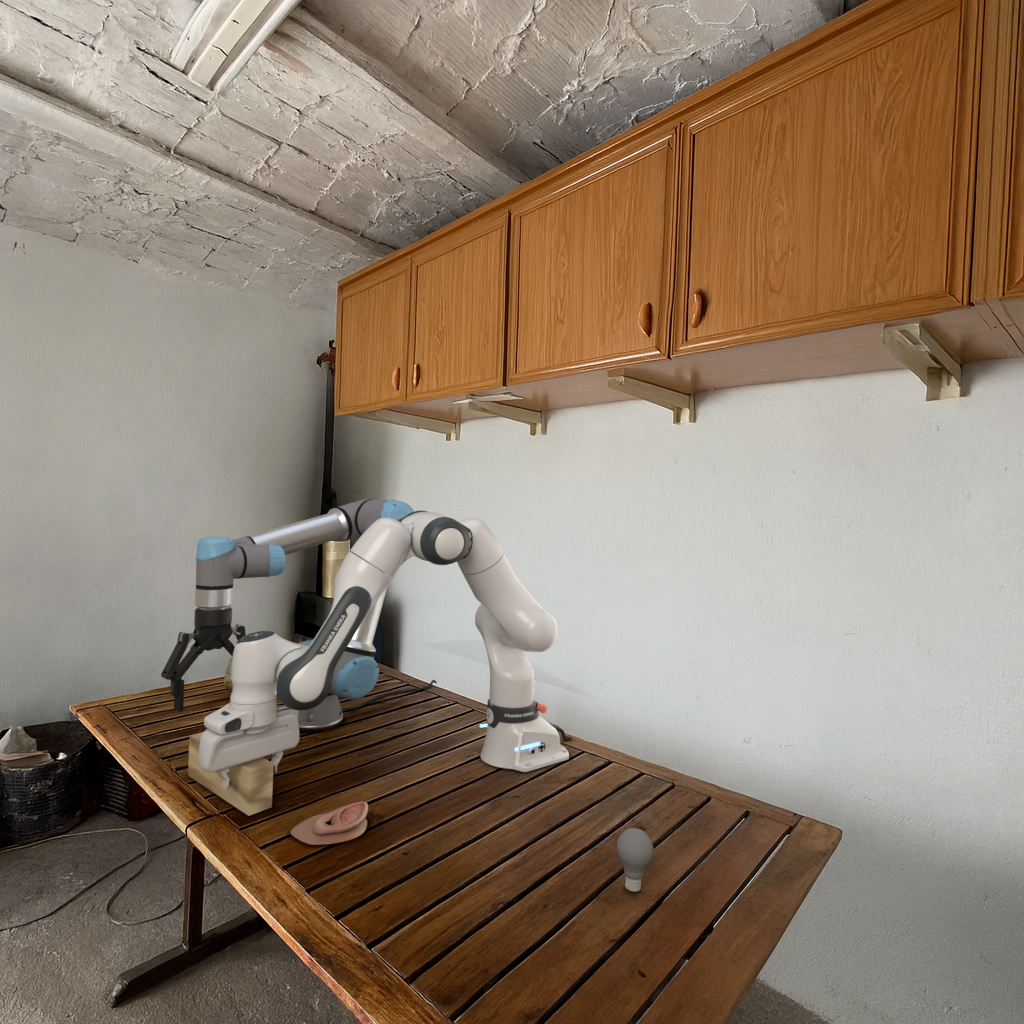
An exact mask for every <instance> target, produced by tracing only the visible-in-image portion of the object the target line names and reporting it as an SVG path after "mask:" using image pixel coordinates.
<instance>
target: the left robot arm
mask: <svg viewBox="0 0 1024 1024" xmlns="http://www.w3.org/2000/svg"><path fill="white" fill-rule="evenodd" d="M414 511H415V510H414V508H413V507H412V506H411V505H410V504H408V503H407V502H405V501H401V500H396V499H375V498H366V499H360V500H357V501H354V502H353V501H352V502H350V503H346V504H343V505H340V506H337V507H333V508H330V509H329V510H328V512H327V513H325V514H321V515H318V516H314V517H311V518H307V519H304V520H299V521H297V522H296V521H295V522H293V523H289V524H286V525H282V526H277V527H275V528H271V529H267V530H264V531H260V532H256V533H253V534H250V535H247V536H241V537H238V538H233V537H230V536H203V537H201V538H199V539H198V541H197V545H196V556H195V560H196V561H195V562H196V563H195V590H194V591H195V592H194V593H195V594H194V606H195V607H196V608H195V609H194V619H193V620H194V622H193V625H194V629H193V630H192V631H193V632H185V631H180V632H179V633H178V635H177V642H176V644H175V646H174V648H173V650H172V652H171V653H170V655H169V658H168V660H167V662H166V664H165V665H164V667H163V669H162V671H161V674H160V677H161V678H163V679H164V680H167V681H170V687H169V689H170V690H169V693H170V695H171V696H173V709H174V710H175V711H176V712H184V705H185V704H184V703H185V702H184V700H185V679H182V678H183V676H184V675H185V673H187V671H188V670H189V669H190V668H191V666H192V665H193V664H194V662H195V661H196V660H197V659H198V657H199V656H200V655H202V654H203V653H204V651H206V652H209V651H213V650H222V648H223V649H224V650H226V651H227V653H228V654H229V655H230V656H231V658H232V657H233V652H234V648H235V645H234V643H233V642H232V641H231V640H230V638H231V636H232V635H234V636H235V638H236V640H237V642H238V641H239V639H241V638H242V637H243V636H245V635H247V633H246V627H245V626H244V625H241V624H239V623H238V624H235V625H234V626H232V623H233V608H232V607H231V606H232V605H233V604H234V603H233V601H234V599H233V597H234V581H235V580H238V579H240V580H241V579H250V578H252V579H254V578H269V577H276V576H277V577H278V576H280V575H281V574H283V572H284V571H285V568H286V565H287V555H290V554H294V553H296V552H300V551H303V550H306V549H310V548H313V547H317V546H319V545H322V544H325V543H329V542H332V541H338V542H344V541H348V540H353V539H355V540H356V539H357V540H358V539H359V538H360V537H361V536H362V535H363V533H364V532H365V531H366V530H367V529H368V528H369V527H370V526H371V525H372V524H373V523H374V522H375V521H376V520H378V519H380V518H392V519H395V520H399V519H401V518H403V517H404V516H406V515H407V514H409V513H411V512H414ZM363 560H364V559H363ZM364 561H365V560H364ZM366 562H367V561H366ZM367 563H368V562H367ZM369 564H370V563H369ZM370 565H371V564H370ZM372 566H373V565H372ZM375 568H376V567H375ZM377 569H378V568H377ZM378 570H379V569H378ZM380 571H381V570H380ZM381 572H382V571H381ZM383 573H384V572H383ZM384 574H386V573H384ZM386 575H387V574H386ZM388 576H389V575H388ZM389 577H390V576H389ZM387 589H388V587H387V588H386V589H385V591H384V592H383V593H382V595H381V596H380V597H379V599H378V600H377V601H376V603H375V604H374V605H373V607H372V608H371V609H370V611H369V612H368V614H367V615H366V616H365V618H364V619H363V621H362V622H361V624H360V626H359V628H358V629H357V631H356V633H355V634H354V636H353V638H352V639H351V641H350V643H349V644H348V646H347V648H346V649H345V651H344V653H343V654H342V656H341V658H340V659H339V661H338V663H337V665H336V667H335V670H334V673H333V678H332V684H331V688H330V691H329V694H328V695H327V697H326V698H325V700H324V701H323V702H322V703H321V704H319V705H318V706H316V707H314V708H312V709H309V710H302V711H299V713H298V724H299V732H301V733H316V732H325V731H329V730H332V729H335V728H337V727H339V726H340V725H342V723H343V722H344V713H343V711H351V710H355V709H359V708H361V707H364V706H365V705H367V704H369V703H371V702H373V701H376V700H377V699H380V698H382V697H386V696H390V695H394V694H402V693H408V692H414V691H422V690H426V689H429V688H431V687H432V685H433V684H437V683H438V682H437V681H436V680H435V679H432V680H431V681H430V682H429V684H428V685H426V686H421V687H414V688H407V689H401V690H393V691H389V692H385V693H381V694H379V695H377V696H374V697H372V698H370V699H367V700H366V701H364V702H362V703H360V704H358V705H354V706H346V707H342V706H341V702H340V699H345V700H347V701H357V700H360V699H363V698H364V697H365V696H367V695H368V694H370V693H371V692H372V690H373V689H374V688H375V687H376V684H377V682H378V680H379V676H380V668H379V666H378V663H377V661H376V660H375V658H376V657H375V656H376V653H377V650H376V648H375V646H374V644H373V642H374V639H375V636H376V635H375V634H376V631H377V627H378V624H379V619H380V615H381V612H382V609H383V605H384V600H385V597H386V593H387ZM192 640H193V641H194V643H193V644H192V645H191V646H190V648H189V651H188V652H187V653H186V654H185V652H186V651H187V648H188V646H189V644H190V643H191V642H192ZM313 640H314V639H308V640H304V641H300V642H299V643H298V644H301V645H307V646H310V645H311V643H312V641H313ZM184 654H185V656H184Z"/></svg>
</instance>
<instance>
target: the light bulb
mask: <svg viewBox="0 0 1024 1024" xmlns="http://www.w3.org/2000/svg"><path fill="white" fill-rule="evenodd" d="M616 852H617V856H618V858H619V860H620V862H621V864H622V866H623V872H624V875H625V882H624V887H625V889H627V890H628V891H630V892H633V893H634V892H635V893H636V892H639V891H641V889H642V878H643V876H644V875H645V869H646V868H647V867H648V865H649V864H650V862H651V860H652V858H653V855H654V845H653V842H652V840H651V838H650V836H649V835H648V834H647V832H645V831H644V830H642V829H640V828H636V827H629V828H627V829H625V830H624V831H623V832H622V833H620V835H619V836H618V839H617V841H616Z"/></svg>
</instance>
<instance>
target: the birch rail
mask: <svg viewBox="0 0 1024 1024" xmlns="http://www.w3.org/2000/svg"><path fill="white" fill-rule="evenodd" d="M203 733H204V731H201V732H198V733H195V734H190V735H189V737H188V741H189V742H188V768H187V769H188V770H187V776H188V777H189V778H190V779H192V780H194V781H195V782H197V783H199V784H200V785H202V786H203V787H204V788H206V789H207V790H209V791H211V792H212V793H213V794H215V795H216V796H218V797H219V798H221V799H222V800H224V801H225V802H226V803H229V804H230V805H232V806H233V807H235V808H236V809H237V810H239V811H240V812H242V813H244V814H245V815H247V816H248V817H249V816H252V815H255V814H258V813H260V812H262V811H266V810H268V809H270V808H272V807H273V789H274V786H273V785H274V773H273V763H272V762H271V760H268V759H266V758H265V757H260V758H257V759H254V760H251V761H247V762H244V763H241V764H237V765H234V766H231V767H229V772H227V773H226V774H227V776H230V777H231V778H234V782H233V784H234V786H233V787H231V788H228V789H224V788H223V787H222V778H221V777H220V775H219V774H218V772H217V771H215V772H211V773H208V772H206V771H204V770H203V769H201V768H200V766H199V765H198V753H199V745H200V740H201V736H202V734H203Z"/></svg>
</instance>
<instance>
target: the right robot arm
mask: <svg viewBox="0 0 1024 1024" xmlns="http://www.w3.org/2000/svg"><path fill="white" fill-rule="evenodd" d="M413 557H414V558H415V557H416V558H418V559H419V560H422V561H424V562H429V563H430V564H433V565H437V566H447V565H451V564H455V563H457V566H458V567H459V569H460V571H461V573H462V574H463V577H464V579H465V581H466V582H467V585H468V587H469V588H470V590H471V592H472V595H473V596H474V597H475V599H476V600H477V601H478V602H479V603H480V604H479V606H478V607H477V609H476V611H475V615H474V624H475V627H476V629H477V631H478V632H479V633H480V636H481V637H482V638H481V639H482V640H483V643H484V646H485V650H486V651H485V652H486V655H487V659H488V665H489V698H488V699H487V705H486V723H482V724H479V728H486V732H485V737H484V741H483V746H482V749H481V752H480V755H479V757H480V759H481V761H483V762H484V763H486V764H487V765H490V766H492V767H496V768H500V769H507V770H514V771H518V772H522V773H527V772H531V771H535V770H538V769H541V768H544V767H548V766H551V765H555V764H558V763H561V762H564V761H568V760H569V759H570V753H569V751H568V750H567V748H566V747H565V746H563V744H561V738H560V735H561V736H562V739H563V740H564V741H569V740H571V739H572V736H571V735H568V736H570V737H568V736H566V734H565V731H564V729H563V728H562V727H560V726H559V725H556V724H554V723H552V722H549V721H548V720H546V719H544V718H543V716H541V715H540V713H541V714H545V713H546V712H548V706H547V705H545V704H544V703H540V702H538V701H536V700H534V696H535V695H534V693H535V675H536V674H535V670H534V667H533V666H532V664H531V663H530V661H529V659H528V656H527V654H526V653H542V652H546V651H547V650H549V649H550V648H551V647H552V646H553V644H554V643H555V641H556V640H557V636H558V623H557V620H556V618H555V617H554V616H553V615H552V614H551V613H549V612H548V611H547V610H545V609H544V607H542V606H541V605H540V604H539V602H537V600H536V599H535V598H534V597H533V596H532V594H530V592H529V591H528V590H527V588H526V587H525V586H524V585H523V584H522V582H521V581H520V580H519V578H518V576H517V575H516V574H515V571H514V570H513V567H512V566H511V564H510V562H509V560H508V558H507V556H506V555H505V551H504V550H503V548H502V546H501V544H500V542H499V541H498V539H497V538H496V536H495V534H494V533H493V531H492V530H491V529H490V527H489V526H488V525H487V524H486V522H484V521H483V520H482V519H480V518H477V517H467V518H464V519H462V520H460V521H459V520H456V519H454V518H453V517H449V516H446V515H444V514H442V513H438V512H433V511H432V512H431V511H427V510H414V512H411V513H409V514H407V515H406V516H404V517H403V518H401V519H399V520H395V519H392V518H380V519H378V520H376V521H375V522H374V523H373V524H372V525H371V526H370V527H369V528H368V529H367V530H366V531H365V532H364V533H363V535H362V536H361V537H360V538H359V539H357V540H356V541H355V542H354V545H353V546H352V547H351V549H350V551H348V552H347V554H346V556H345V557H344V559H343V560H342V562H341V564H340V566H339V568H338V571H337V573H336V575H335V577H334V591H333V592H334V593H333V594H334V595H333V602H332V606H331V609H330V611H329V614H328V616H327V617H326V619H325V620H324V622H323V624H322V626H321V627H320V629H319V630H318V632H317V633H316V635H315V637H314V638H313V639H312V640H313V641H312V643H311V645H310V646H307V645H301V644H299V643H296V642H293V641H290V640H287V639H285V638H283V637H282V636H280V635H278V634H277V633H276V632H274V631H271V630H259V631H255V632H252V633H251V632H250V633H247V634H246V635H245V636H243V637H242V638H241V639H239V641H238V640H237V641H236V643H235V645H234V647H235V648H234V652H233V658H232V657H231V658H232V668H231V681H232V684H233V690H232V694H231V693H230V697H229V703H226V704H225V705H224V706H222V707H221V708H219V709H217V710H215V711H213V712H211V713H210V714H207V715H206V716H204V719H203V726H204V727H205V728H206V729H205V730H204V731H203V732H204V733H203V734H202V736H201V740H200V745H199V753H198V765H199V766H200V768H201V769H203V770H204V771H206V772H208V773H211V772H215V771H217V772H218V774H219V775H220V777H221V778H222V787H223V788H224V789H228V788H231V787H233V786H234V784H233V782H234V778H231V777H230V776H227V774H226V773H227V772H229V767H231V766H234V765H237V764H241V763H244V762H247V761H251V760H254V759H257V758H260V757H263V758H265V757H266V756H270V755H272V757H271V759H270V762H272V763H273V774H276V773H278V765H279V763H280V762H281V760H282V758H283V756H284V751H286V750H289V749H293V748H296V747H297V745H298V744H299V742H300V731H299V724H298V713H299V711H302V710H309V709H312V708H314V707H316V706H318V705H319V704H321V703H322V702H323V701H324V700H325V698H326V697H327V695H328V694H329V691H330V688H331V684H332V678H333V673H334V670H335V667H336V665H337V663H338V661H339V659H340V658H341V656H342V654H343V653H344V651H345V649H346V648H347V646H348V644H349V643H350V641H351V639H352V638H353V636H354V634H355V633H356V631H357V629H358V628H359V626H360V624H361V622H362V621H363V619H364V618H365V616H366V615H367V614H368V612H369V611H370V609H371V608H372V607H373V605H374V604H375V603H376V601H377V600H378V599H379V597H380V596H381V595H382V593H383V592H384V591H385V589H386V588H387V589H388V587H389V585H390V584H391V582H392V581H393V579H394V578H395V577H396V575H397V574H398V571H399V570H400V568H401V566H403V565H404V564H405V562H407V561H408V560H410V559H411V558H413ZM363 559H364V560H365V561H364V560H363ZM366 561H367V562H368V563H367V562H366ZM369 563H370V564H371V565H370V564H369ZM372 565H373V566H372ZM375 567H376V568H375ZM377 568H378V569H379V570H378V569H377ZM380 570H381V571H382V572H381V571H380ZM383 572H384V573H386V574H387V575H386V574H384V573H383ZM388 575H389V576H390V577H389V576H388ZM278 700H279V701H280V702H281V704H283V705H277V703H278V702H277V701H278ZM539 712H540V713H539Z"/></svg>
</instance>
